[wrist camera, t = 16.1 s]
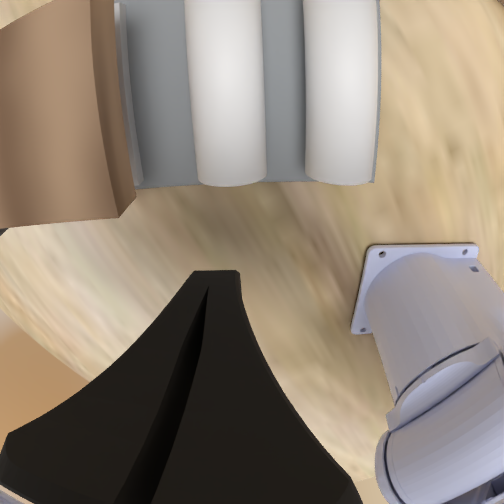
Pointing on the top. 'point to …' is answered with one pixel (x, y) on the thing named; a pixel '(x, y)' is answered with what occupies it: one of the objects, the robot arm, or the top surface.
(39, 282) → the top surface
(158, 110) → the roller bed
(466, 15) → the top surface
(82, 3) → the walnut slab
